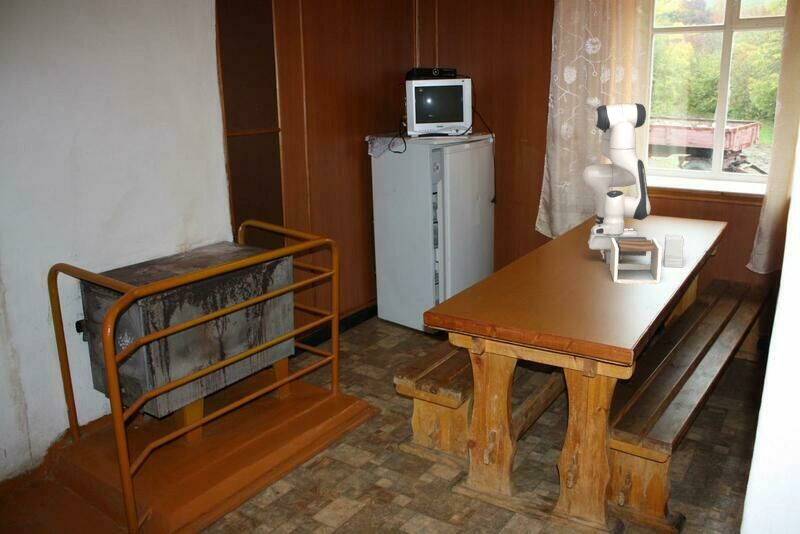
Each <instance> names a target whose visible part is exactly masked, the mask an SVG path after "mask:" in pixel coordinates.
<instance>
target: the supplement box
mask: <svg viewBox="0 0 800 534" xmlns="http://www.w3.org/2000/svg"><path fill="white" fill-rule="evenodd" d="M684 241H685V239H684V235H682V234H679V235H678V234H665V236H664V252H663V253H664V254H663V267H664V268H683V259H684V258H683V257H684V256H683V255H684V246H685V245H684V244H685V242H684Z"/></svg>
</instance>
